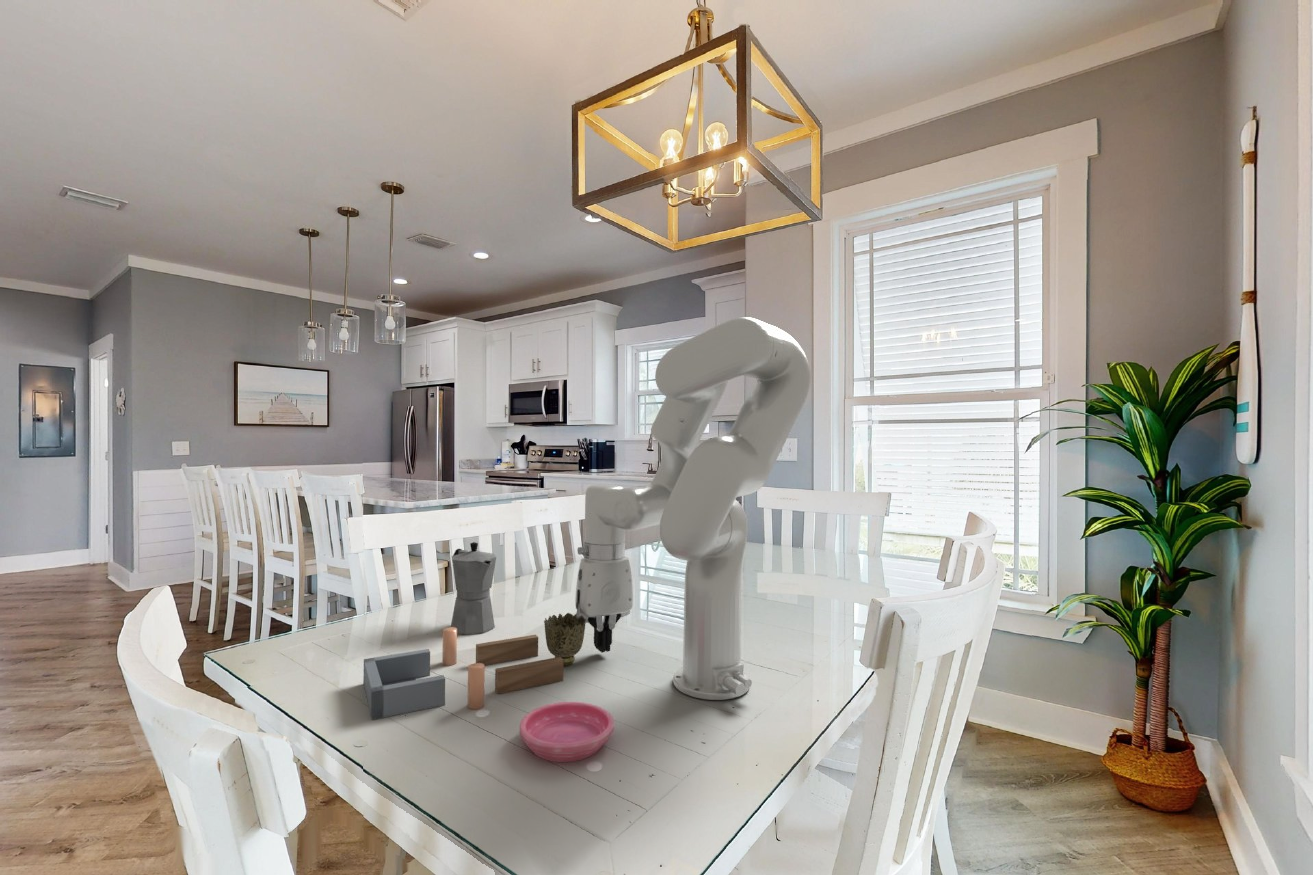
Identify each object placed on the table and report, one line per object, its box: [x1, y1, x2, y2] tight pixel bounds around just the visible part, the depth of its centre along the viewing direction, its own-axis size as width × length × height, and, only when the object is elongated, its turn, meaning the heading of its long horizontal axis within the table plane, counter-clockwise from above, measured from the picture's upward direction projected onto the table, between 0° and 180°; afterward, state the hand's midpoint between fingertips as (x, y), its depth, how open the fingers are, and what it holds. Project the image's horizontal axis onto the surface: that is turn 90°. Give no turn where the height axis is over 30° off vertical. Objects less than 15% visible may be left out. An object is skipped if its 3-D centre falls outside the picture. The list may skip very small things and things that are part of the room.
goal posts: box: [441, 626, 486, 710], centre depth 99 cm, size 21×2×6 cm, turn 30°
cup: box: [543, 612, 587, 667], centre depth 108 cm, size 8×7×8 cm
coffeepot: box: [450, 541, 497, 636], centre depth 127 cm, size 15×9×18 cm, turn 44°
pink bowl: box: [519, 701, 615, 763], centre depth 80 cm, size 12×12×3 cm
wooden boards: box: [475, 634, 564, 695], centre depth 103 cm, size 14×11×4 cm
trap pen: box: [362, 648, 446, 721], centre depth 94 cm, size 14×10×4 cm
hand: (602, 649), depth 112 cm, fingers closed
